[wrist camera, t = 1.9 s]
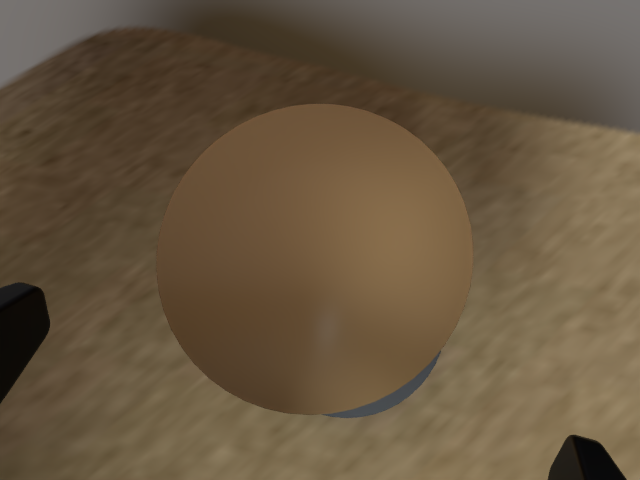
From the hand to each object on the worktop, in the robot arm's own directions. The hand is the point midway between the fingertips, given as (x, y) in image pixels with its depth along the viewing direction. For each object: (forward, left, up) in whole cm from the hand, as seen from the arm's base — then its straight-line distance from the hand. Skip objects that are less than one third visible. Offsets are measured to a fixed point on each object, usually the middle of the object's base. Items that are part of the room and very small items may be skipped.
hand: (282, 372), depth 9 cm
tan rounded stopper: (+2, -1, -9) cm, 10 cm away
